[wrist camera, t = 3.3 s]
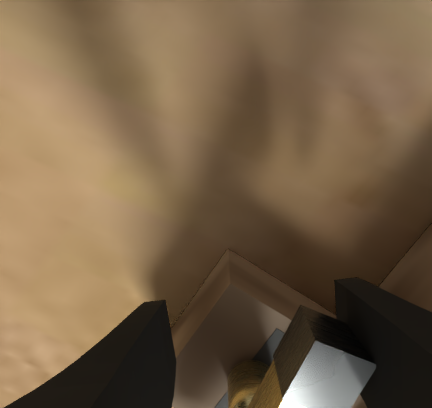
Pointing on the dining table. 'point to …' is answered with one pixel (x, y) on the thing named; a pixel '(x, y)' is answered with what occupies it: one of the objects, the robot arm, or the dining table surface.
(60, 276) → the dining table surface
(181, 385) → the case
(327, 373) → the lever
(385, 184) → the dining table surface
